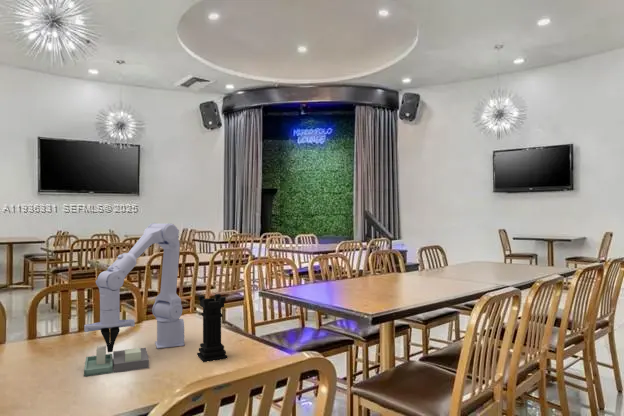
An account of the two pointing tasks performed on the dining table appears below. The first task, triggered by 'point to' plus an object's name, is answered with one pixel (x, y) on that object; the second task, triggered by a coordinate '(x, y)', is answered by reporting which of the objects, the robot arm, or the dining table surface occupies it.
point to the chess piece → (212, 329)
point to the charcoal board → (132, 365)
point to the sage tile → (132, 354)
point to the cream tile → (101, 355)
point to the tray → (98, 366)
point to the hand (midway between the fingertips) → (110, 351)
